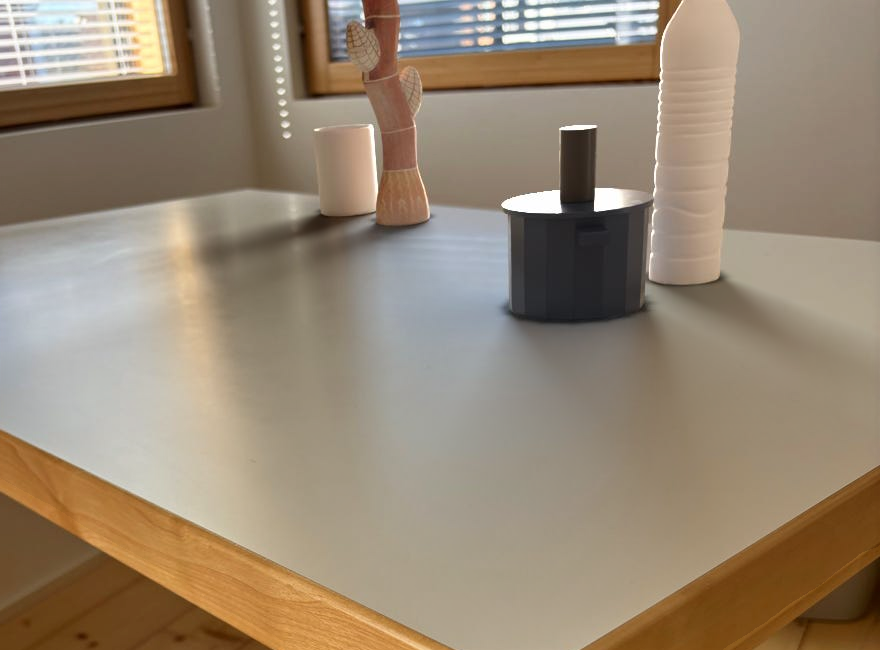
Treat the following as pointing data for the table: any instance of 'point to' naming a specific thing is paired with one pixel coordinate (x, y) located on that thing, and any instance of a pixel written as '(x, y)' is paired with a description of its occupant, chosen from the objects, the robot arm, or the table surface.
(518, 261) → the pot
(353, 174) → the mug
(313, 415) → the table surface
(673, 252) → the water bottle
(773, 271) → the table surface
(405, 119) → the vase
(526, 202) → the lid
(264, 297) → the table surface
